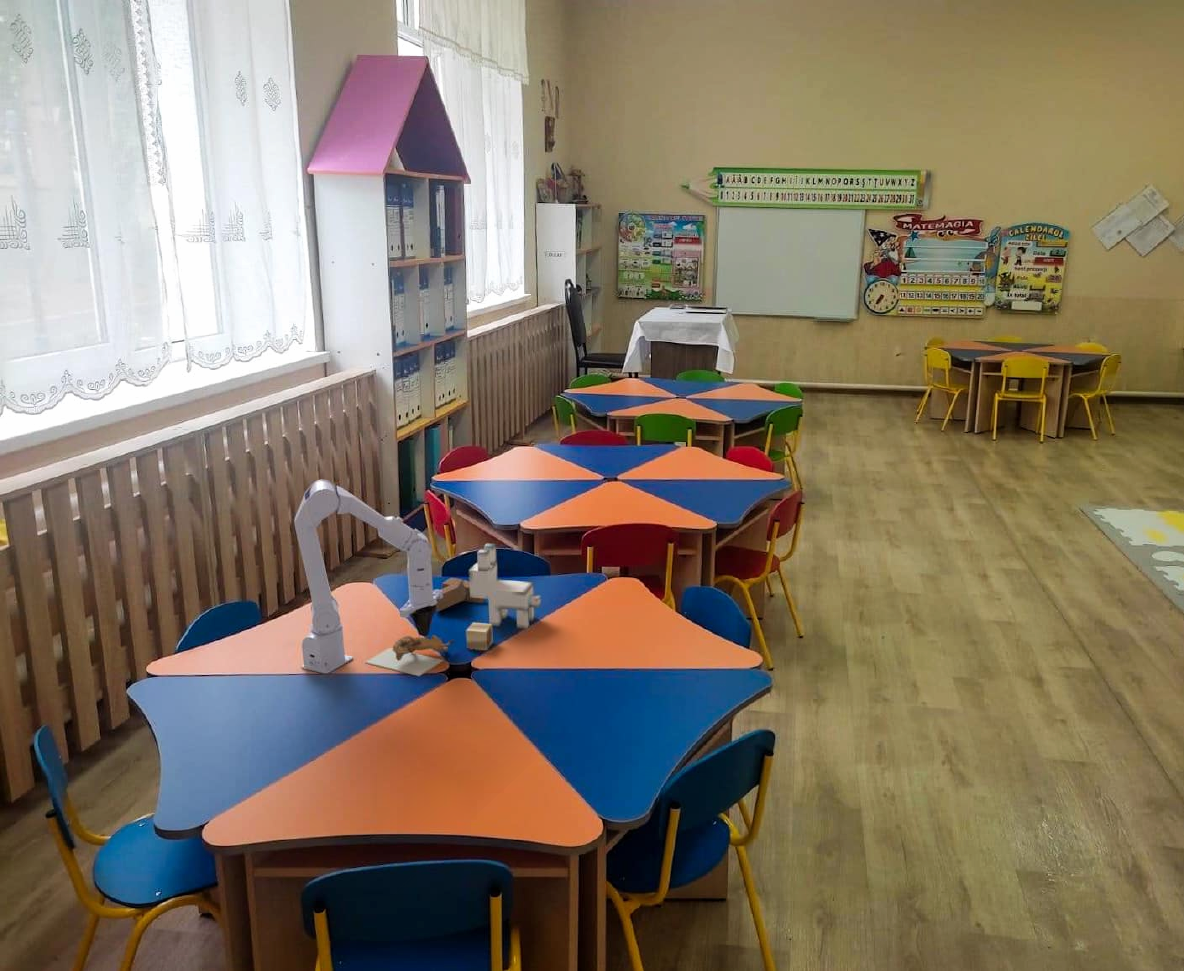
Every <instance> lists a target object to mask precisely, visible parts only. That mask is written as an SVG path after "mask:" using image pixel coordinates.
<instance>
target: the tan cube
mask: <svg viewBox="0 0 1184 971" xmlns="http://www.w3.org/2000/svg"><path fill="white" fill-rule="evenodd" d="M465 636H466V637H465V638H466V649H467V648H469V649H468V650H473V649H475V651H485V650H486V651H487V650H488V649H489V648H490V647H491V646H492V644H493V643H494V640H493V639H494V637H493V636H494V635H493V626H492V624H490V623H485V622H483V623H482V622H472V623H471V624H470V625H469V626H468V627H467V629H466V630H465ZM489 646H490V647H489Z"/></svg>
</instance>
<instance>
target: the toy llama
mask: <svg viewBox="0 0 1184 971" xmlns="http://www.w3.org/2000/svg"><path fill="white" fill-rule="evenodd" d="M476 555H477V560H476V561H477V562H476V563H474V564H473V565H472V566H471V567H470V568H469V569H468V582H469V583H470V597H472V598H484V600H485V599H487V600H488V616H489V618H488V621H489V624H492V627H500V626H501V624H503V620H506V619H507V617H508V616H509V612H508V610H512V611H516V629H525V630H527V629H528V627H529V626H530V622H533V621H534V620H535V617H536V616H535V615H536V613H535V612H536V611H535V609H538V608H539V607H540V606H541V595H540V594H535V585H534V584H535V583H534V581H533V582H532V581H519V580H507V579H498V559H497V543H491V542H490V543H489V542H488V543H485V545H484V546H483V548H482V549H479V550H478V551H476Z"/></svg>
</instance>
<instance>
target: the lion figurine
mask: <svg viewBox="0 0 1184 971" xmlns="http://www.w3.org/2000/svg"><path fill="white" fill-rule="evenodd" d="M453 642H455V639H451V640H449V641H448V642H447V643H443V641H442V640H441V638H439V637H437V636H436V635H432V636H431V638H426V637H421V636H420V637H418V636H417V637H413V636H410V635H408V636H407V635H406V636H402V637H401V638H399V639H398V640H397V641H395V643H394V644H393V645H392V648H393V650H392V651H394V652H395V653H396V659H397V660H398V661H399V660H401V659H402V656H403V655H404V654H408V653H415V651H424V650H433V651H435V652H437V653H438V652H440V653H441V652H448V649H449V647H448V646H450V645H451V644H452V643H453Z"/></svg>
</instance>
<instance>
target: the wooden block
mask: <svg viewBox="0 0 1184 971" xmlns="http://www.w3.org/2000/svg"><path fill="white" fill-rule="evenodd" d="M440 590H442V591H443V598H441V599H439V598H438V599H436V601H437V604H435V605H436V611H435V612H441V611H442V610H445V609H447V608H449V607H452V606H454V605H457V604H458V603H460V602H463V601H464V602H470V603H477V604H484V601H485V598H472V597H470V583H469V580H464V579H463V578H456V577H455V578H454V577H450V578H448V579H446V580H445V581H444V582H442V584H441V589H440Z"/></svg>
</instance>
